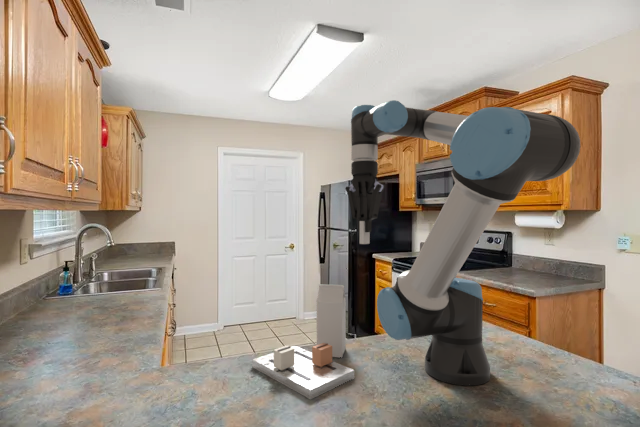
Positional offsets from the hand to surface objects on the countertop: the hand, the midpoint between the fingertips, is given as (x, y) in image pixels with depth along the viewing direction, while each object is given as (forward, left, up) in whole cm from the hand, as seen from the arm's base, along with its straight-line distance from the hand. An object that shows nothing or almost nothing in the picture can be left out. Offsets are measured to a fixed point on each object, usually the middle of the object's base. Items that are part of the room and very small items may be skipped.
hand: (364, 243), depth 104 cm
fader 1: (+3, +27, -28) cm, 39 cm away
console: (+1, +23, -30) cm, 38 cm away
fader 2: (-2, +19, -28) cm, 34 cm away
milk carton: (+5, +8, -31) cm, 32 cm away
